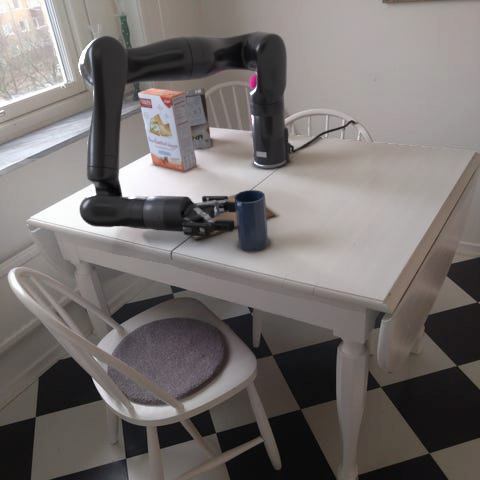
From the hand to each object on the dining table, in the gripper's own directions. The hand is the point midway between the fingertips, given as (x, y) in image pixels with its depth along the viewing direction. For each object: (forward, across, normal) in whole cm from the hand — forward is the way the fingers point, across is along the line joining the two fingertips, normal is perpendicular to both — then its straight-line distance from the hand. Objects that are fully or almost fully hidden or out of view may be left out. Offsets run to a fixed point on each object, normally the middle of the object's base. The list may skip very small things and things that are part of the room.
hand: (239, 216), depth 103 cm
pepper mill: (-13, +72, +7) cm, 74 cm away
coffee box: (-31, +63, +7) cm, 71 cm away
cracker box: (-33, +44, +7) cm, 56 cm away
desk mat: (-8, +13, +6) cm, 17 cm away
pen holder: (+3, 0, +6) cm, 7 cm away
